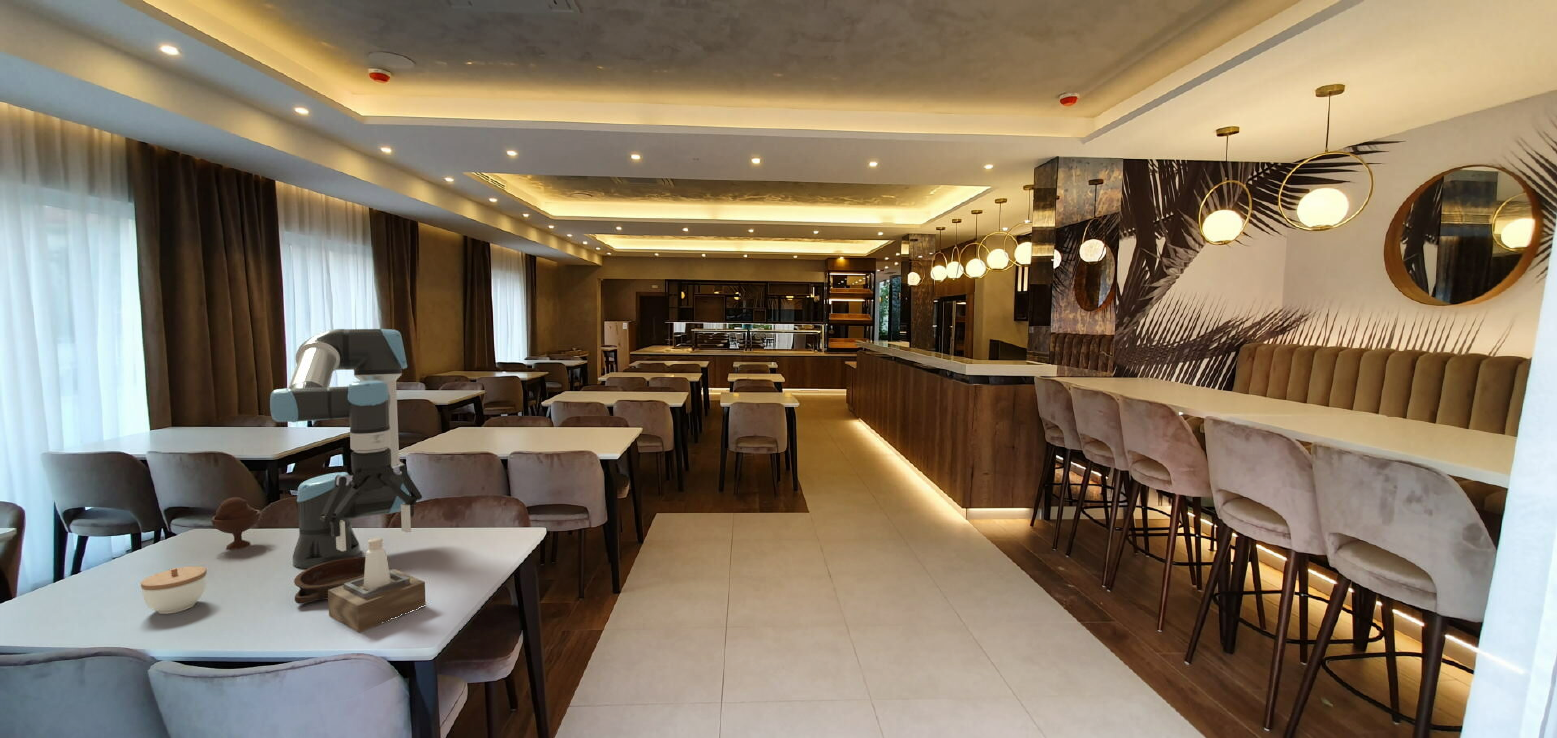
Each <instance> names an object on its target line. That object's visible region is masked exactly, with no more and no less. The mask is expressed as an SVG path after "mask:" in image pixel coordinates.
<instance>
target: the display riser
mask: <svg viewBox="0 0 1557 738" xmlns="http://www.w3.org/2000/svg"><path fill="white" fill-rule="evenodd" d="M389 574H390V579H391V582H390V583H389V584H386V585H383V586H380V587H377V588H374V589H371V590H364V589H363V585H364V577H362V578H359V579H356V580H353V581H350V582H347V583H344V584H343V585H342V586H339V587H336V588H333V589H330V590H328V599H327V601H328V617H330V618H333V620H336V621H338V622H340V623H342V624H343V625H345V626H347V627H348V628H350V629H352V630H354V631H356V632H357V633H362V632H365V631H366V630H369V628H370V629H372V628H374V627H377V626H379V624H380V625H382V624H383V623H382V622H385V623H387V622H389V621H388V620H390V619H391V618H395V617H398V616H400V615H401V614H405V613H408V612H410V611H412V610H416V609H418V608H419V607H421V606H424V605H426V604H427V602H426V582H425V581H423V580H422V579H419V578H416V577H414V576H412V575H411V574H410V575H409V574H407V573H404V572H402V571H400V570H398V569H396V568H392V569H390V568H389ZM418 610H419V609H418ZM416 611H417V610H416ZM408 614H409V613H408ZM405 615H406V614H405ZM400 617H401V616H400ZM398 618H399V617H398ZM395 619H396V618H395ZM386 621H387V622H386ZM390 621H391V620H390ZM381 623H382V624H381ZM371 627H372V628H371Z"/></svg>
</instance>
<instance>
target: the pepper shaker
mask: <svg viewBox="0 0 1557 738" xmlns="http://www.w3.org/2000/svg"><path fill="white" fill-rule="evenodd" d="M367 543H368V550H367V551H366V553H365V557H366V559H365V572H364V585H363V589H364V590H371V589H374V588H377V587H380V586H383V585H386V584H389V583H390V582H391V579H390V574H389V569H390V568H389V562H388V557H387V551H386V548H385V547H383V538H382V537H372V538H370V539H369V540H368V541H367Z"/></svg>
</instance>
